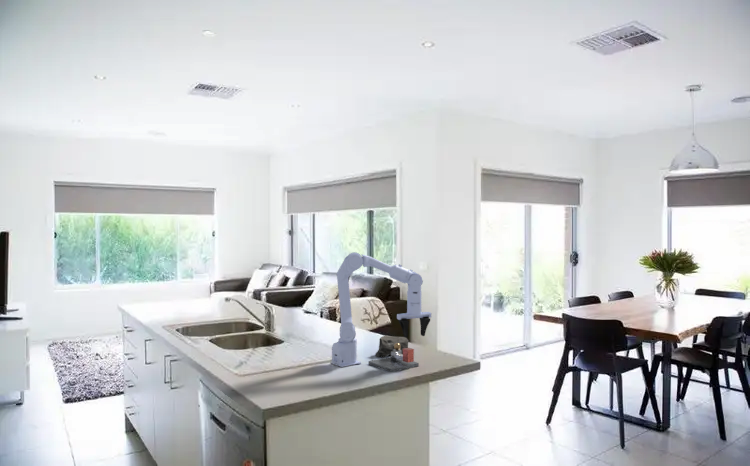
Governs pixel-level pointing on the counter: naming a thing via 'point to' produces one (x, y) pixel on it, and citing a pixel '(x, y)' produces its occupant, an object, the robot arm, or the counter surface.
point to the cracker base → (393, 362)
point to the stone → (390, 345)
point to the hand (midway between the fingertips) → (414, 336)
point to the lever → (404, 355)
